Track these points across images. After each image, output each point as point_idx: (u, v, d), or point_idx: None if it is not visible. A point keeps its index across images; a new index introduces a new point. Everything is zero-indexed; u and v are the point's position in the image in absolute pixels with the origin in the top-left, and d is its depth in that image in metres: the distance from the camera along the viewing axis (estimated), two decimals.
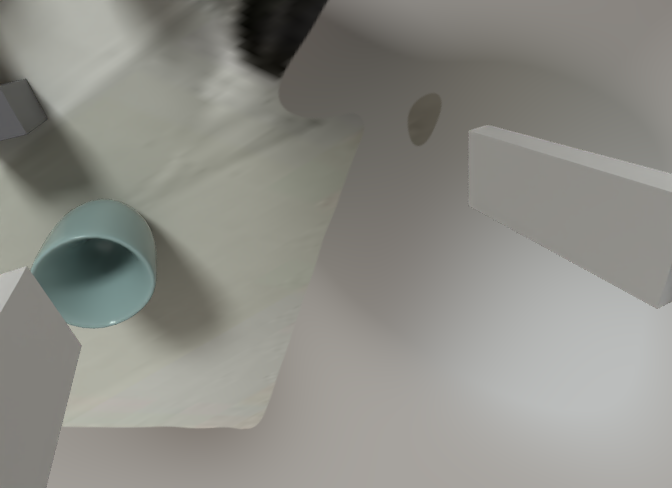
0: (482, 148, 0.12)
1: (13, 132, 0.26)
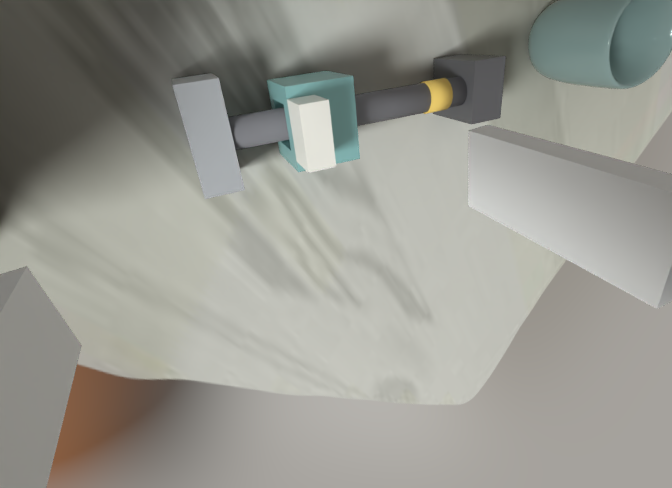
0: (482, 148, 0.12)
1: (502, 64, 0.33)
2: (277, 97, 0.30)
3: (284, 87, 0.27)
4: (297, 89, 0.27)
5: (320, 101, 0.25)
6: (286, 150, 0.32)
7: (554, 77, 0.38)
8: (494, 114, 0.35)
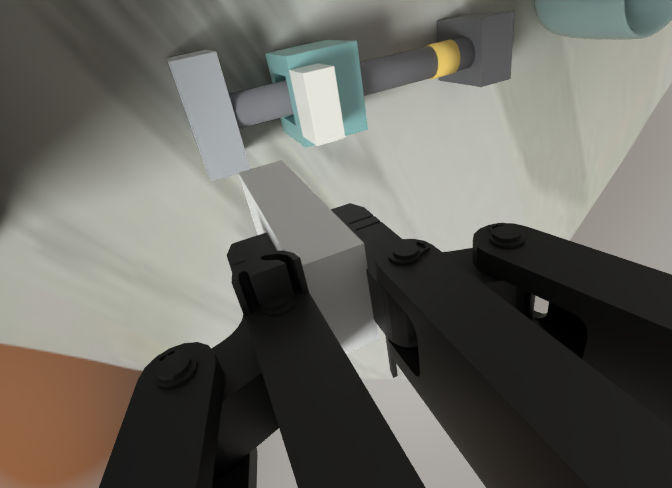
0: None
1: (510, 20, 0.31)
2: (278, 70, 0.28)
3: (285, 57, 0.26)
4: (299, 58, 0.26)
5: (325, 68, 0.24)
6: (290, 126, 0.31)
7: (564, 32, 0.36)
8: (504, 74, 0.33)
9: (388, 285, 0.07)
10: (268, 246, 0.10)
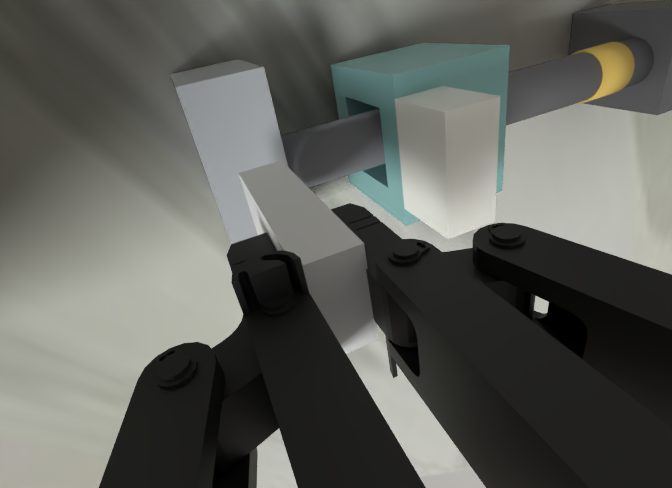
0: None
1: None
2: (360, 94, 0.17)
3: (390, 76, 0.14)
4: (414, 78, 0.14)
5: (483, 100, 0.12)
6: (371, 183, 0.19)
7: None
8: None
9: (388, 285, 0.07)
10: (268, 246, 0.10)
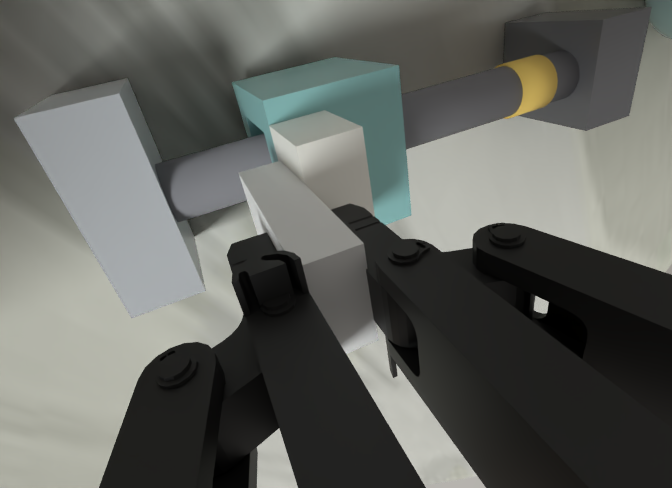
0: None
1: (644, 23, 0.19)
2: (252, 116, 0.16)
3: (262, 101, 0.13)
4: (289, 103, 0.13)
5: (344, 132, 0.11)
6: None
7: None
8: (621, 109, 0.21)
9: (388, 285, 0.07)
10: (268, 246, 0.10)
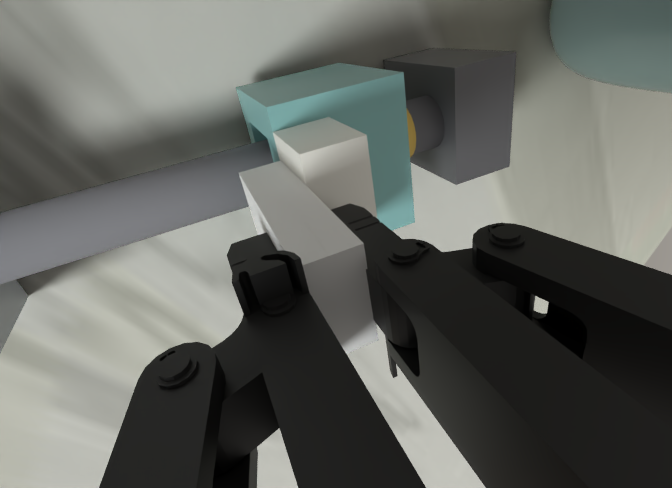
0: None
1: (509, 69, 0.17)
2: (255, 122, 0.16)
3: (266, 108, 0.13)
4: (293, 110, 0.13)
5: (348, 140, 0.11)
6: None
7: (600, 78, 0.22)
8: (498, 161, 0.19)
9: (388, 285, 0.07)
10: (268, 246, 0.10)
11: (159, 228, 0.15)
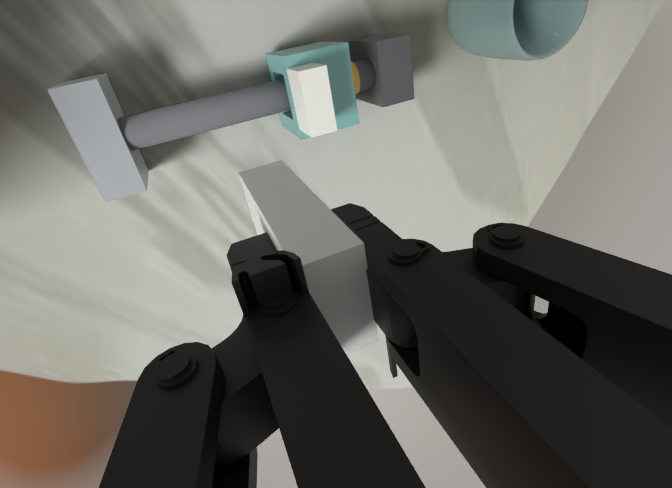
0: None
1: (407, 43, 0.32)
2: (276, 69, 0.31)
3: (283, 57, 0.28)
4: (295, 58, 0.28)
5: (318, 67, 0.27)
6: (288, 120, 0.33)
7: (474, 52, 0.37)
8: (407, 95, 0.34)
9: (388, 285, 0.07)
10: (268, 246, 0.10)
11: (228, 120, 0.31)
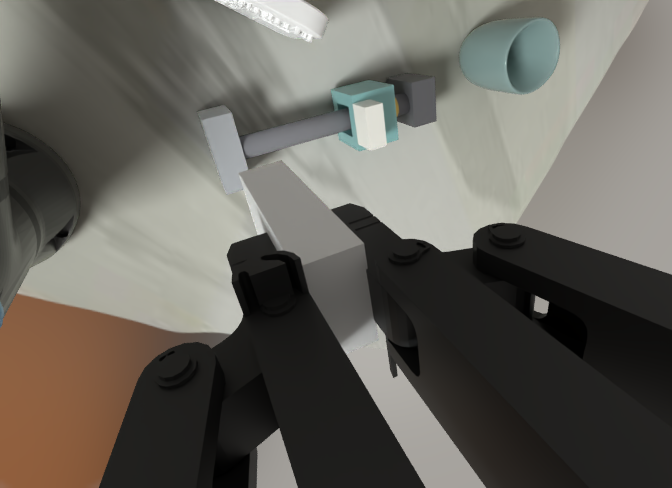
0: None
1: (432, 83, 0.45)
2: (342, 101, 0.44)
3: (350, 96, 0.42)
4: (359, 96, 0.42)
5: (377, 104, 0.40)
6: (347, 137, 0.47)
7: (479, 85, 0.50)
8: (431, 118, 0.47)
9: (388, 285, 0.07)
10: (268, 246, 0.10)
11: (309, 138, 0.44)
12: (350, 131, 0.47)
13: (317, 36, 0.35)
